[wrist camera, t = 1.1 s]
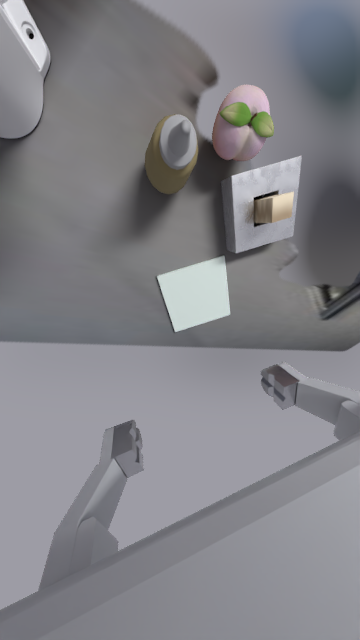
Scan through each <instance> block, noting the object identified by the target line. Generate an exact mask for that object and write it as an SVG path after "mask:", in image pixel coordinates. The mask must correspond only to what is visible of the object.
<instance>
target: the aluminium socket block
mask: <svg viewBox="0 0 360 640" xmlns="http://www.w3.org/2000/svg"><path fill="white" fill-rule="evenodd" d="M301 158H302V156H299V157H295V158H292V159H289V160H285V161H282V162H278V163H275V164H271V165H268V166H264V167H261V168H257V169H254V170H251V171H247V172H244V173H240V174H237V175H233V176H231V177H229V178H227V179H225V180H223V181H221V188H222V199H223V210H224V222H225V233H226V245H227V250H228V251H231V252H234V253H239V252H242V251H246V250H249V249H252V248H256V247H259V246H262V245H265V244H269V243H272V242H275V241H278V240H282V239H285V238H288V237H291V236H293V231H294V222H295V213H296V204H297V194H298V186H299V177H300V176H299V175H300V167H301ZM289 192H294V197H293V207H292V217H290V218H287V219H283V220H280V221H277V222H274V223H254V197H257V196H260V195H263V194H264V197H268V196H274V195H279V194H284V193H289Z"/></svg>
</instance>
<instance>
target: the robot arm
mask: <svg viewBox="0 0 360 640" xmlns="http://www.w3.org/2000/svg"><path fill="white" fill-rule="evenodd" d="M30 33H32V34H34V38H33V39H30V38H29V34H30ZM49 65H50V52H49V49H48V47H47V45H46V43H45V41H44V39H43V37H42V35H41V33H40V31H39V30H38V28H37V26H36V24H35V22H34V20H33V18H32V16H31V14H30V12H29V10H28V8H27V7H26V5H25V3H24V1H23V0H0V137H2V138H19V137H23V136H25V135H27V134H28V133H30V132H31V131H32V130H33V129H34V128H35V127H36V125H37V123H38V121H39V119H40V117H41V113H42V108H43V81H44V78H45V76H46V73H47V71H48V68H49ZM261 375H262V376H263V378H262V380H261V384H262V387H263V389H264V391H265V392H266V393H267V394H268V395H270V396H272V397H273V398H274V401H275V402H276V403H277V404H278V406H279V407H281V409H282V410H283V409H286V408H288V407H291V406H293V405H295V406H298V407H299V408H301V409H303V410H305V411H307V412H309V413H311V414H313V415H316V416H318V417H320V418H322V419H324V420H326V421H328V422H330V423H332V424H334V425H335V429H334V436H335V437H336V438H337V439H339V440H340V441H338V442H336V443H334V444H332V445H330V446H328V447H326V448H324V449H322V450H320V451H318V452H316V453H314V454H312V455H310V456H308V457H306V458H304V459H302V460H300V461H298V462H296V463H294V464H292V465H290V466H288V467H286V468H284V469H282V470H280V471H278V472H276V473H274V474H272V475H270V476H268V477H266V478H264V479H262V480H260V481H258V482H256V483H254V484H252V485H250V486H248V487H246V488H244V489H242V490H240V491H238V492H236V493H234V494H232V495H230V496H228V497H226V498H224V499H222V500H220V501H218V502H216V503H214V504H212V505H210V506H208V507H206V508H204V509H202V510H200V511H198V512H196V513H194V514H192V515H190V516H188V517H186V518H184V519H182V520H180V521H178V522H176V523H174V524H172V525H170V526H168V527H166V528H164V529H162V530H160V531H158V532H156V533H154V534H152V535H150V536H148V537H146V538H144V539H141V540H140V541H138V542H135V543H134V544H132V545H129V546H127V547H126V548H124V549H121V550H120V551H118V541H117V539H116V538H115V537H114V536H113V535H112V534H111V533H110V532H109V531H108V528H109V526H110V523H111V521H112V518H113V516H114V513H115V510H116V508H117V505H118V502H119V500H120V497H121V495H122V492H123V489H124V487H125V484H126V482H127V478H128V477H130V476H132V475H134V474H137V473H139V472H141V471H143V470H144V469H143V455H142V453H141V449H142V438H141V434H140V431H139V429H138V428H136V422H135V421H134V420H131V421H128V422H125V423H123V424H120V425H117V426H114V427H111V428H109V429H106V430H105V432H104V437H103V443H102V449H101V456H100V462H99V464H98V465H96V466H95V468H94V470H93V471H92V473H91V474H90V476H89V478H88V479H87V481H86V482H85V484H84V486H83V487H82V489H81V491H80V492H79V494H78V496H77V497H76V499H75V500H74V502H73V504H72V505H71V507H70V508H69V510H68V512H67V514H66V515H65V516H64V518H63V520H62V521H61V523H60V525H59V526H58V528H57V530H56V531H55V533H54V536H53V540H52V544H51V547H50V550H49V554H48V558H47V561H46V565H45V568H44V572H43V576H42V579H41V583H40V586H39V590H38V591H37V592H35V593H33V594H31V595H29V596H27V597H25V598H23V599H22V600H19V601H18V602H15V603H13V604H11V605H10V606H7V607H5V608H3V609H1V610H0V640H360V391H357V390H353V389H349V388H346V387H342V386H339V385H335V384H332V383H328V382H324V381H321V380H317V379H314V378H310V377H309V378H307V377H305V376H303V375H302V374H301V373H299V372H298V371H296V370H295V369H294V368H292V367H291V366H289V365H288V364H287V363H285V362H282V363H279V364H276V365H273V366H271V367H269V368H266V369H263V370H262V371H261Z"/></svg>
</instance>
